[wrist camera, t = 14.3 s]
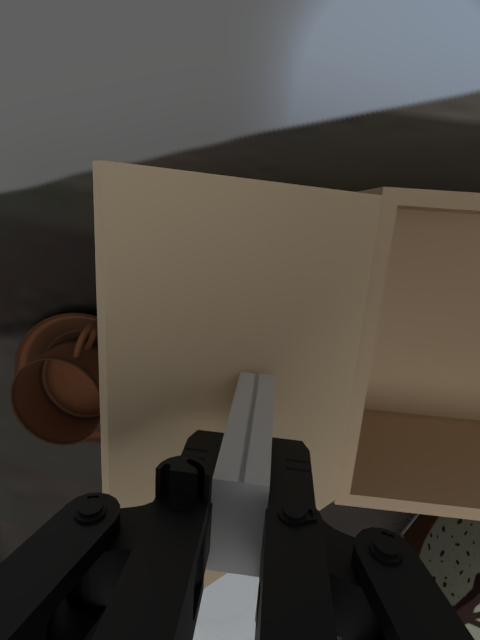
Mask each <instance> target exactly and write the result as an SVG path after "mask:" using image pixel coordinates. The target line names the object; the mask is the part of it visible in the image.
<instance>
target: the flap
mask: <svg viewBox="0 0 480 640" xmlns="http://www.w3.org/2000/svg"><path fill="white" fill-rule="evenodd" d="M93 193H94V226H95V260H96V294H97V327H98V361H99V394H100V428H101V462H102V493H105V494H110V495H111V496H113V497H115V498H116V499H117V500H118V502H119V504H120V508H127V507H136V506H141V505H145V504H148V503H151V502H153V501H154V499H155V474H156V467H157V466H158V465H159V464H160V463H161V462H162V461H164V460H166V459H168V458H170V457H175V456H181V453H182V451H183V450H184V446H185V444H186V441H187V439H188V437H190V436H191V435H192V434H193V433H195V432H196V431H197V430H204V431H212V432H221V433H224V432H225V429H226V425H227V421H228V417H229V413H230V410H231V406H232V402H233V398H234V395H235V391H236V387H237V383H238V379H239V376H240V372H247V373H256V374H266V375H275V389H274V410H273V430H272V437H274V438H282V439H291V440H299V441H303V443H304V444H305V445H306V447H307V448H308V449H309V451H310V458H311V467H312V476H313V486H314V495H315V504H316V509H317V510H318V511H320V510H321V509H322V508H324V507H325V506H327V505H328V504H330V503H331V502H333V501H334V500H335V499H336V493H337V487H338V480H339V474H340V467H341V461H342V454H343V448H344V441H345V435H346V428H347V422H348V415H349V409H350V403H351V396H352V390H353V383H354V377H355V370H356V364H357V357H358V351H359V344H360V338H361V331H362V325H363V319H364V312H365V306H366V299H367V293H368V286H369V280H370V273H371V267H372V260H373V254H374V247H375V241H376V235H377V228H378V222H379V215H380V209H381V202H382V196H383V195H376V194H368V193H360V192H352V191H344V190H336V189H328V188H320V187H312V186H304V185H296V184H288V183H280V182H272V181H264V180H256V179H248V178H240V177H232V176H224V175H216V174H208V173H200V172H192V171H184V170H176V169H168V168H160V167H152V166H144V165H136V164H128V163H120V162H112V161H104V160H98V161H93ZM225 574H227V573H225V572H218V571H211V570H207V565H206V570H205V574H204V587H203V589H204V588H206V587H207V586H209V585H210V584H212V583H213V582H215V581H216V580H218V579H219V578H221V577H222V576H224V575H225Z"/></svg>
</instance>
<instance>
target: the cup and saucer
mask: <svg viewBox="0 0 480 640" xmlns="http://www.w3.org/2000/svg"><path fill="white" fill-rule="evenodd" d="M14 372H15V377H14V379H13V381H12V384H11V388H10V402H11V406H12V409H13V412H14V414H15V416H16V418H17V420H18V421H19V423H20V424H21V425H22V426H23V427H24V428H25V429H26V430H27V431H28V432H29V433H30V434H31V435H33V436H34V437H36V438H38V439H39V440H41V441H44V442H46V443H49V444H53V445H59V446H69V445H75V444H78V443H81V442H101V428H100V394H99V361H98V327H97V316H94V315H90V314H85V313H64V314H59V315H55V316H51V317H49V318H46V319H44V320H42V321H41V322H39V323H38V324H36V325H35V326H34V327H32V328H31V329H30V330H29V331H28V332H27V334H26V335H25V336H24V338H23V339H22V341H21V343H20V345H19V347H18V350H17V353H16V357H15V365H14Z"/></svg>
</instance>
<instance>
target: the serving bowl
mask: <svg viewBox="0 0 480 640" xmlns="http://www.w3.org/2000/svg"><path fill="white" fill-rule="evenodd" d="M258 586H259V577H254V576H247V575H240V574H232V573H227V574H225V575H224V576H222V577H221V578H219V579H218V580H216V581H215V582H213V583H212V584H210V585H209V586H207V587H206V588H204V589H203V594H202V598H201V603H200V608H199V612H198V617H197V622H196V627H195V631H194V636H193V640H255V627H256V622H255V615H256V605H257V596H258Z"/></svg>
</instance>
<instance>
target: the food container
mask: <svg viewBox="0 0 480 640" xmlns="http://www.w3.org/2000/svg"><path fill="white" fill-rule="evenodd" d="M400 535H401V537H402V538H404V539H405V540H406V541H407V542H408V543H409V544H410V545H411V546H412V547H413V549H414V550H415V551H416V553H417V554H418V556H419V557H420V559H421V560H422V562H423V563H424V565H425V566H426V568H427V569H428V571H429V572H430V574H431V575H432V577H433V578H434V580H435V581H436V583H437V584H438V586H439V587H440V589H441V590H442V592H443V593H444V595H445V596H446V598H447V599H448V601H449V602H450V604H451V605H452V607H453V608H454V610H455V611H456V613H457V614H458V616H459V617H460V619H461V620H462V622H463V623H464V625H465V626H466V628H467V629H468V630H469V632H470V633H471V635H472V636H473V638H474V639H475V640H480V521H477V520H468V519H459V518H451V517H442V516H433V515H424V514H415V516H414V517H413V518H412V519H411V521H410V522H409V523H408V524H407V526H406V527H405V528H404V529H403V531H402V532H401V533H400Z"/></svg>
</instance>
